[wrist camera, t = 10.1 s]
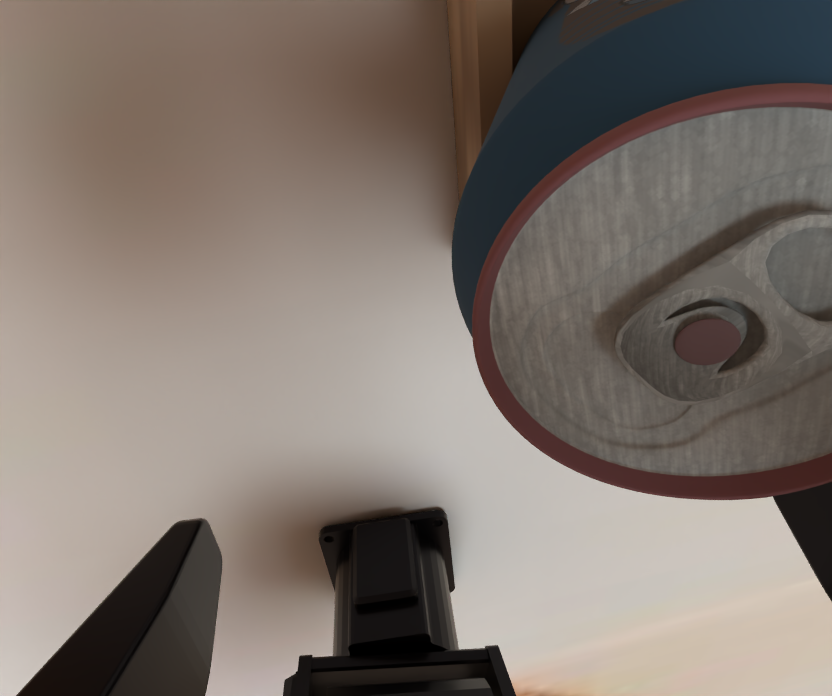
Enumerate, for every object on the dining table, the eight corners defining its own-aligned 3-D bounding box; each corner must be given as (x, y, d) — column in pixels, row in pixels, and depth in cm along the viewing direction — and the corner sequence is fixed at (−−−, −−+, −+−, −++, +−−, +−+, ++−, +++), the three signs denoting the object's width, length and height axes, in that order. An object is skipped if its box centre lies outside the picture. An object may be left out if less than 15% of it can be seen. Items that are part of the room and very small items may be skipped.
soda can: (612, 247, 18) (641, 570, 9) (466, 101, 17) (326, 326, 8) (831, 86, 14) (1272, 389, 5) (667, -133, 12) (900, -264, 3)
